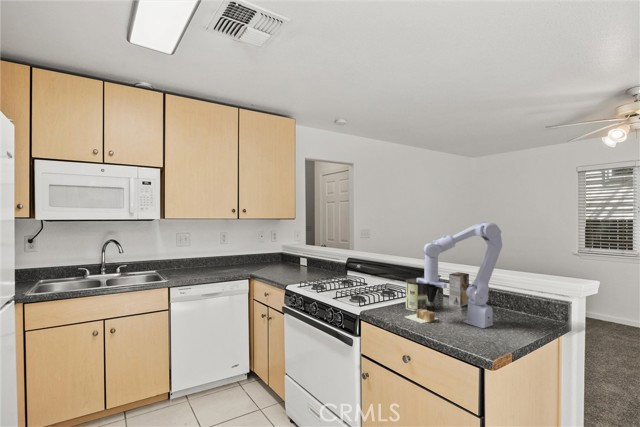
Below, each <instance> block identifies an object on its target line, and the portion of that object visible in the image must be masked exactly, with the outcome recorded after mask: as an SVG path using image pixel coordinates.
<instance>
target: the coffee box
mask: <svg viewBox="0 0 640 427" xmlns="http://www.w3.org/2000/svg"><path fill="white" fill-rule="evenodd" d="M448 278H449V280H448V281H449V282H448V284H449V286H448V288H449V290H448V296H449V297H448V304H449V306H453V307H458V308H461V307H464V306H468V300H469V297H468V296H467V294H466V290H467V288H468V287H469V286H470V274H469V273H465V272H460V271H459V272H458V271H456V272H453V273H449V276H448Z"/></svg>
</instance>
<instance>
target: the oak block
mask: <svg viewBox="0 0 640 427" xmlns="http://www.w3.org/2000/svg"><path fill="white" fill-rule="evenodd" d="M416 314H417V318H419V319H422V320H425V321H428V322H427V323H430V322H434V321H436V320H435V318H436V317H435V315H436V313H435V311H434V312H433V311H430V310H425V309H418V310H417V311H416Z"/></svg>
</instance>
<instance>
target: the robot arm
mask: <svg viewBox="0 0 640 427" xmlns="http://www.w3.org/2000/svg"><path fill="white" fill-rule="evenodd" d="M501 234H502V230H501V229H500V227H499V226H498V224H496V223H493V222H486V221H483V222H479V223H476V224H473V225H471V226H470V227H467V228H466V229H464V230H462V231H460V232H457V233H456V234H454V235H449V234H448V235H446V234H443V235H442V237H441V238H438V239H435V240H432V243H431V242H430V243H429V242H428V243H426V244H425V245H424V247H423V249H422V251H423V254H424V266H423V268H424V274H423V275H424V276H423V277H416V279H417V282H418V283H424V284H425V285H423V288H424V290H425V292H426V295H427V301H428V303H433V302H434V301H435V298H436V294H437V292H438V290H439V288H441V289H447V285H448V284H447V282H446V283H445V282H443V281H441V280H439V256H440V254H442V253H444V252H446V251H448V250H451V249H453V248H454V247H455V246H456V244H457V243H459V242H461V241H464V240H467V239H469V238H471V237H473V236H474V237H475V236H476V237H481V238H482V239H483V240H484V242H485V243H486V245H487V247H486V250H485V252H484V255H483V258H482V259H481V260H482V261H481V263H480V264H479V268H478V271H477V274H476V276H475V279H473V281H471V284H469V287H468V288H467V290H466V294H467V296H468V297H469V300H468V304H467V319H465V320H463V323H464V324H468V325H472V326H474V327H478V328H481V329H485V328H489V327H492V326H494V322H493V321H494V320H493V318H494V316H493V315H494V312H493V310H494V309H493V308H492V306H490V305H488V304H487V302H488V301H489V291H490V287H489V282H490V280H491V277H492V274H493V272H494V269H495V266H496V264H497V261H498V260H499V256H500V254H501V250H502V248H503V241H502V235H501Z"/></svg>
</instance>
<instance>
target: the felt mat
mask: <svg viewBox="0 0 640 427" xmlns="http://www.w3.org/2000/svg"><path fill="white" fill-rule="evenodd" d="M404 318H405V319H408V320H411V321H413V322H417V323H419V324H426V323H429V322H428V321H425V320H422V319H419V318H417V313H415V314H410V315H405V316H404ZM436 320H439V318H438V317H435V321H436Z"/></svg>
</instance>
